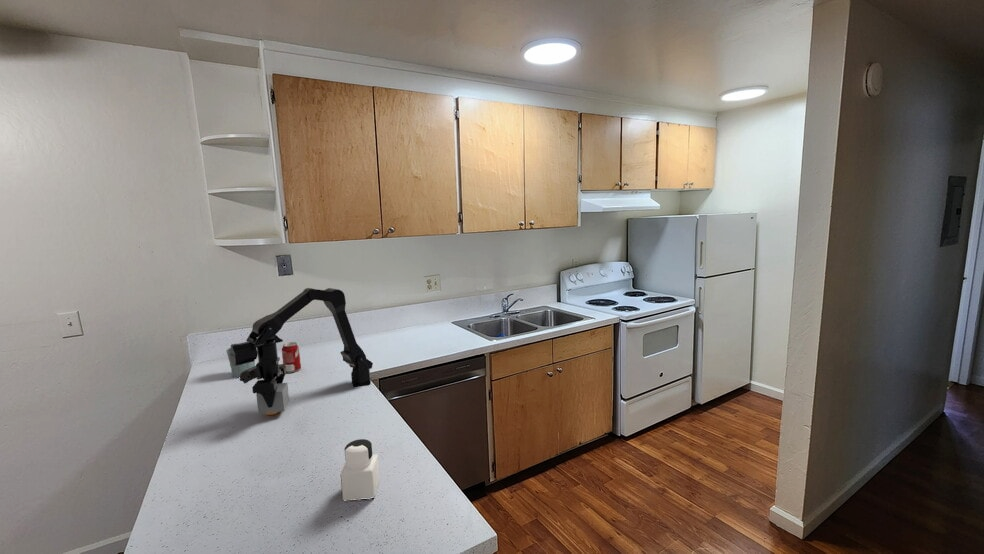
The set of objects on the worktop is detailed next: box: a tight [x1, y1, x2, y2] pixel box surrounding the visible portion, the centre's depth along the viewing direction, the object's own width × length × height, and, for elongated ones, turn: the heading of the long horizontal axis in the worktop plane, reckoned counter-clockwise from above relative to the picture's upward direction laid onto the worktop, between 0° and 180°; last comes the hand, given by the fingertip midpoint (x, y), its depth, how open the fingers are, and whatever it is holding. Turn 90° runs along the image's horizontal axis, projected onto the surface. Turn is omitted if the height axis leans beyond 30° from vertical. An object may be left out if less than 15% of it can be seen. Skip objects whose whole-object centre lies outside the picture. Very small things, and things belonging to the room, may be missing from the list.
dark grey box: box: [255, 382, 290, 415], centre depth 141 cm, size 8×8×7 cm
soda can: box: [281, 341, 302, 374], centre depth 181 cm, size 7×7×12 cm
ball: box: [265, 412, 278, 416], centre depth 141 cm, size 5×5×5 cm
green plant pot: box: [226, 346, 256, 378], centre depth 179 cm, size 10×10×12 cm
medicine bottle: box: [340, 438, 381, 501], centre depth 98 cm, size 7×7×12 cm
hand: (273, 402), depth 141 cm, fingers closed on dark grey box, 8 cm apart
